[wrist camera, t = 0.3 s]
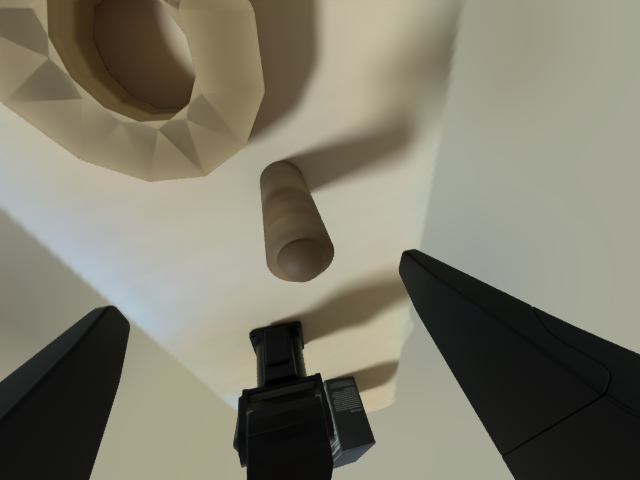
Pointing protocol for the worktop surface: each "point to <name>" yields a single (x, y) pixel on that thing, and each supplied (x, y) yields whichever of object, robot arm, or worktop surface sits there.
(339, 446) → the small box
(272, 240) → the brown cylinder
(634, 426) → the robot arm
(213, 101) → the bead
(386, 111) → the worktop surface
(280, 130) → the worktop surface
